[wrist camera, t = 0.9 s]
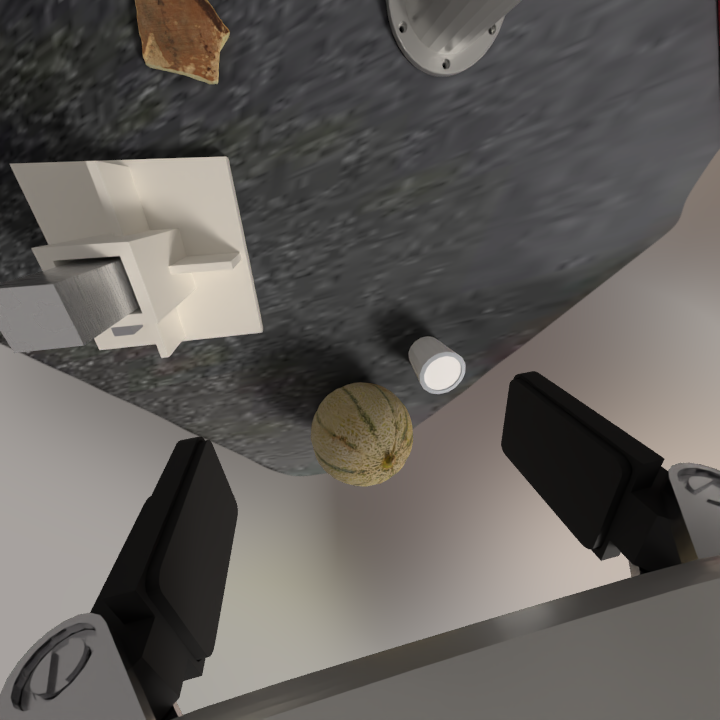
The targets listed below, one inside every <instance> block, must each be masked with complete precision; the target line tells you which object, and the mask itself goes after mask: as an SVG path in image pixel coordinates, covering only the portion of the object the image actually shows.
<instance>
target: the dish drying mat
mask: <svg viewBox="0 0 720 720" xmlns="http://www.w3.org/2000/svg"><path fill="white" fill-rule="evenodd" d="M718 7H719V44H720V0H718Z"/></svg>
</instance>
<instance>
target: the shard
mask: <svg viewBox="0 0 720 720" xmlns="http://www.w3.org/2000/svg"><path fill="white" fill-rule="evenodd" d="M135 6H136V9H137V21H138V28H139V35H140V37H141V40H142V54H143V58H144V60H145V62H146V65H148V66H149V67H151V68H155V69H161V70H164V71H169V72H174V73H178V74H182V75H185V76H188V77H191V78H194V79H196V80H200V81H204V82H206V83H208V84H217V83H218V77H219V72H218V67H219V55H220V50H221V49H222V47H223V46H224V44H225V42H226V41H227V39H228V37H229V34H230V31H229V30H228V28H227V27H226V26H225V25H224V24H223V22H222V20H221V19H220V18H219V17H218V15H217V13H216V12H215V10H214V9H213V7H212V6H211V5H210V3H209V2H208V0H135Z"/></svg>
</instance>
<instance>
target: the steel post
mask: <svg viewBox="0 0 720 720" xmlns="http://www.w3.org/2000/svg"><path fill="white" fill-rule="evenodd" d="M138 307H140V306H139V303H138V301H137V298H136V296H135V293H134V291H133V288H132V285H131V283H130V280H129V278H128V275H127V273H126V270H125V267H124V265H123V262H122V260H121V257H120V256H112V257H98V258H86V259H82V260H79V261H75V262H72V263H68V264H65V265H61V266H58V267H54V268H51V269H48V270H44V271H41V272H37V273H34V274H30V275H27V276H23V277H20V278H17V279H13V280H10V281H6V282H3V283H0V331H1V332H2V334H3V336H4V337H5V339H6V340H7V342H8V343H9V345H10V347H11V348H12V350H13V351H14V353H17V352H26V351H36V350H45V349H55V348H64V347H74V346H83V345H85V344H87V343H88V342H90V341H91V340H92V339H94V338H95V337H97V336H98V335H100V334H101V333H103V332H104V331H105V330H107V329H108V328H110V327H111V326H113V325H114V324H115V323H117V322H118V321H120V320H121V319H123V318H124V317H125V316H127V315H128V314H130V313H131V312H133V311H134V310H136V309H137V308H138Z"/></svg>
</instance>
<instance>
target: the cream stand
mask: <svg viewBox="0 0 720 720" xmlns="http://www.w3.org/2000/svg"><path fill="white" fill-rule="evenodd" d="M10 166H11V168H12V170H13V172H14V174H15V176H16V179H17V181H18V183H19V185H20V187H21V189H22V191H23V193H24V195H25V197H26V199H27V201H28V203H29V205H30V207H31V209H32V212H33V214H34V216H35V218H36V220H37V222H38V224H39V226H40V228H41V230H42V232H43V234H44V236H45V238H46V240H47V243H48V245H45V246H40V247H35V248H31V249H32V251H33V253H34V255H35V257H36V259H37V260H38V262H39V264H40V266H41V268H42V270H43V271H44V270H48V269H51V268H54V267H58V266H61V265H65V264H68V263H72V262H75V261H79V260H82V259H86V258H98V257H112V256H120V257H121V260H122V262H123V265H124V267H125V270H126V273H127V275H128V278H129V280H130V283H131V285H132V288H133V291H134V293H135V296H136V298H137V301H138V303H139V306H140V307H138V308H137V309H136V310H134V311H133V312H131V313H130V314H128V315H127V316H125V317H124V318H123V319H121V320H120V321H118V322H117V323H115V324H114V325H113V326H111V327H110V328H108V329H107V330H105V331H104V332H103V333H101V334H100V335H98V336H97V337H95V338H94V339H95V342H96V344H97V346H98V348H99V350H105V349H114V348H124V347H133V346H142V345H151V344H156V345H157V348H158V350H159V353H160V355H161V358H164V357H169V356H170V355H171V354H172V353H173V351H174V350H175V349H176V348H177V346H178V345H179V344H180V343H181V341H188V340H197V339H206V338H216V337H225V336H234V335H243V334H252V333H262V331H263V325H262V320H261V315H260V310H259V306H258V301H257V296H256V291H255V286H254V281H253V276H252V271H251V266H250V262H249V257H248V252H247V247H246V242H245V237H244V232H243V227H242V223H241V218H240V213H239V208H238V203H237V198H236V193H235V188H234V184H233V179H232V174H231V169H230V164H229V159H228V158H227V157H196V158H166V159H136V160H107V161H77V162H47V163H17V164H10Z"/></svg>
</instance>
